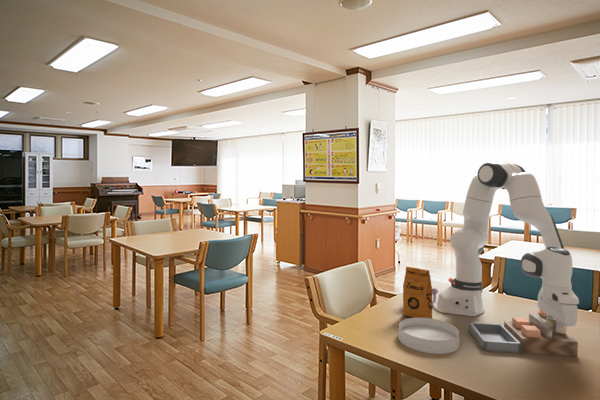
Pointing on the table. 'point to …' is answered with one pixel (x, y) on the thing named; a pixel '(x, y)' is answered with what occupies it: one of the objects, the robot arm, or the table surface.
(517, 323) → the terracotta tile
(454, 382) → the table surface
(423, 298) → the coffee package
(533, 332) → the terracotta tile
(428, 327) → the dish
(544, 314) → the grandmother figurine
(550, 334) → the scraper
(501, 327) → the box
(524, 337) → the walnut board
